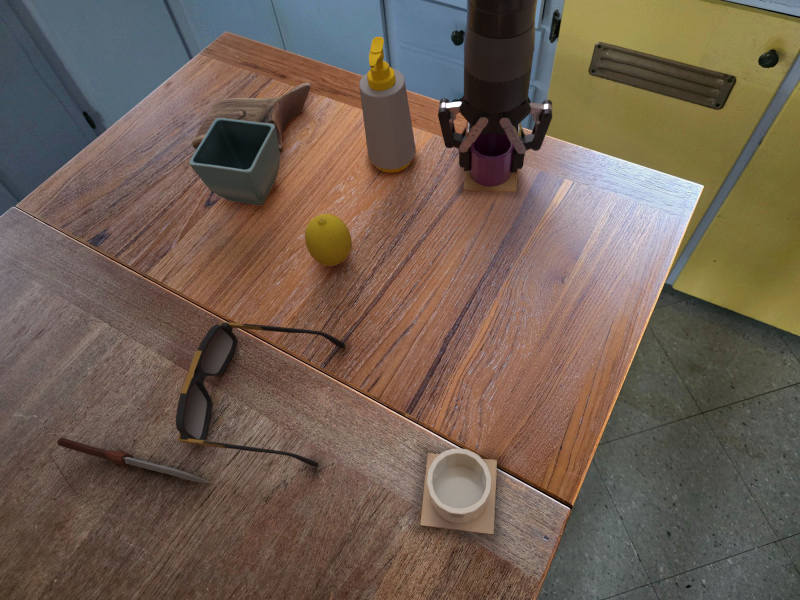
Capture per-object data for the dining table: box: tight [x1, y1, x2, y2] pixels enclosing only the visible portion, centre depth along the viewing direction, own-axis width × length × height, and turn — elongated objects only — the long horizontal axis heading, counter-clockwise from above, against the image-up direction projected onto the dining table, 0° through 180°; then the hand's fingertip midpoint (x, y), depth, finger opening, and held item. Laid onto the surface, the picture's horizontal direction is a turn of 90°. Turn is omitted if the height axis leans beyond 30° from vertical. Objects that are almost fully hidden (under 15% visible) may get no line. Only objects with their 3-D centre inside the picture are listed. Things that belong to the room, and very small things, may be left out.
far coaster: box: [463, 171, 518, 193], centre depth 76 cm, size 7×7×1 cm
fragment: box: [191, 82, 312, 154], centre depth 84 cm, size 13×16×5 cm
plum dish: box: [469, 133, 515, 187], centre depth 74 cm, size 6×6×5 cm
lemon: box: [304, 213, 353, 267], centre depth 67 cm, size 6×6×8 cm
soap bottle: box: [358, 36, 417, 174], centre depth 71 cm, size 7×7×18 cm
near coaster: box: [419, 452, 498, 536], centre depth 54 cm, size 7×7×1 cm
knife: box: [56, 437, 216, 485], centre depth 58 cm, size 18×2×3 cm, turn 76°
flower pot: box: [188, 118, 281, 206], centre depth 75 cm, size 9×9×9 cm
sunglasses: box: [175, 321, 346, 468], centre depth 60 cm, size 14×15×5 cm
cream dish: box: [427, 447, 492, 524], centre depth 52 cm, size 6×6×5 cm
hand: (490, 167), depth 75 cm, fingers closed on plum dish, 5 cm apart
